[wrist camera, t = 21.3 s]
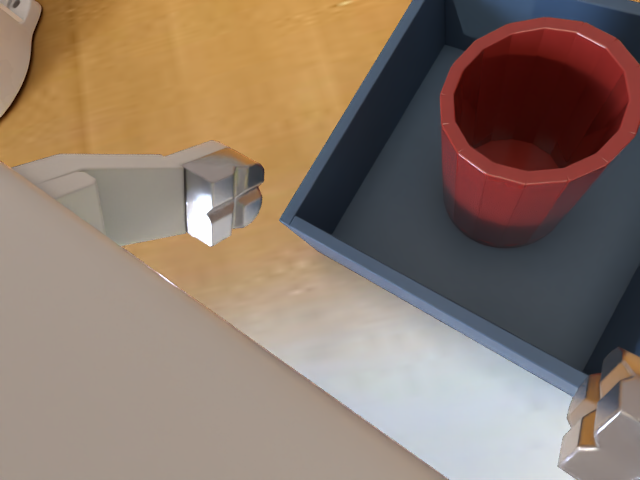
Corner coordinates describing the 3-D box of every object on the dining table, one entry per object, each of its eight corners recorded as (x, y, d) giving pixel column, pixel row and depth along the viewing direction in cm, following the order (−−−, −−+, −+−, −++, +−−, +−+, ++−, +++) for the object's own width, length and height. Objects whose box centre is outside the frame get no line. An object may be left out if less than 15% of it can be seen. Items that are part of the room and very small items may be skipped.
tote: (317, 250, 26) (278, 220, 20) (440, 43, 27) (438, -44, 21) (578, 400, 20) (632, 419, 14) (721, 129, 21) (825, 43, 15)
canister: (419, 198, 24) (403, 114, 15) (496, 117, 24) (523, -11, 15) (511, 273, 21) (552, 222, 13) (597, 184, 21) (694, 76, 13)
